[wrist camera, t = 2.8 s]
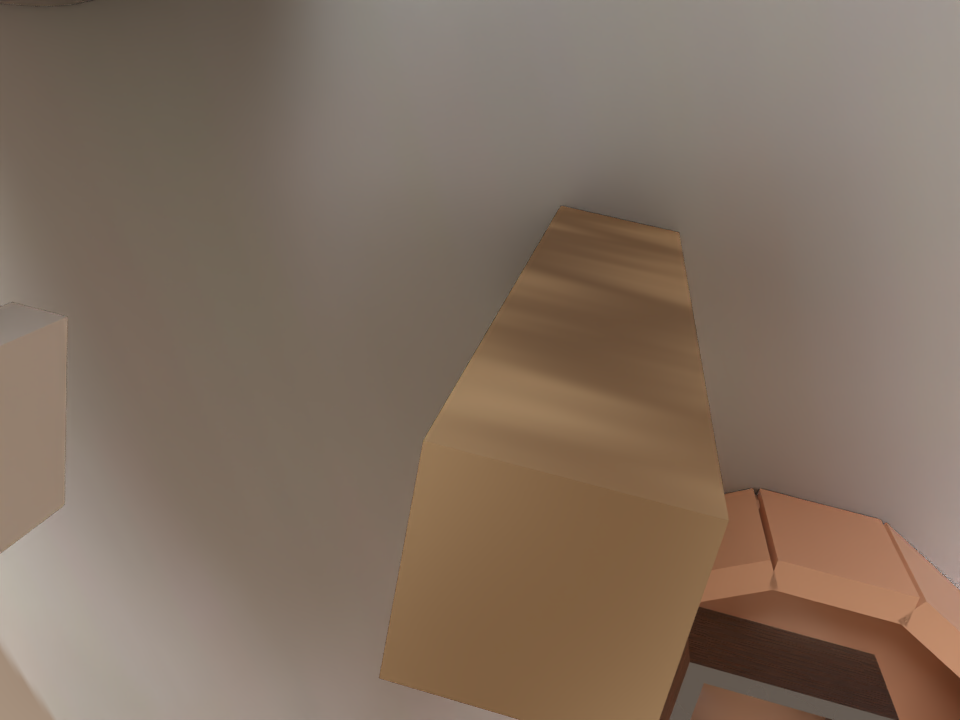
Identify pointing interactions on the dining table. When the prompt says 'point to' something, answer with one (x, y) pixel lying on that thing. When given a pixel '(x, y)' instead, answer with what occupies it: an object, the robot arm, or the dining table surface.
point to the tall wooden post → (566, 491)
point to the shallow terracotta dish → (836, 600)
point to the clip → (777, 671)
